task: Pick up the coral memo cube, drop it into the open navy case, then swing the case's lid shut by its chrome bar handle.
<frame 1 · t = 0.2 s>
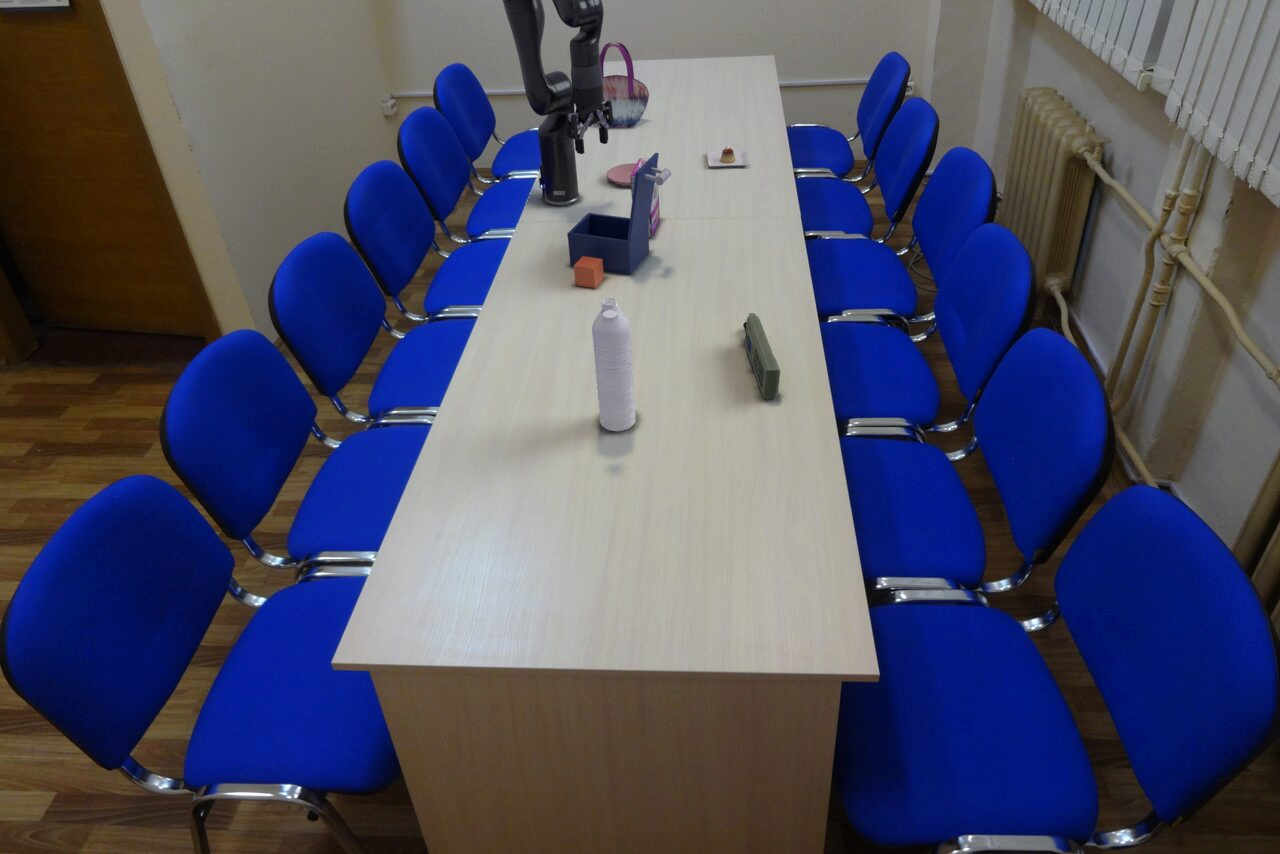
hand: (592, 148, 218), 17 cm above the table, tool pointing down, fingers open, 8 cm apart
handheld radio: (757, 363, 169), on the table
water bottle: (618, 425, 155), on the table
memo cube: (589, 281, 198), on the table
handbag: (617, 123, 284), on the table
candy bar box: (646, 229, 219), on the table
plate: (631, 179, 245), on the table
dessert: (727, 161, 253), on the table
case lid: (652, 199, 193), point 16 cm above the table, hinge at 100.0°
case: (610, 258, 206), on the table
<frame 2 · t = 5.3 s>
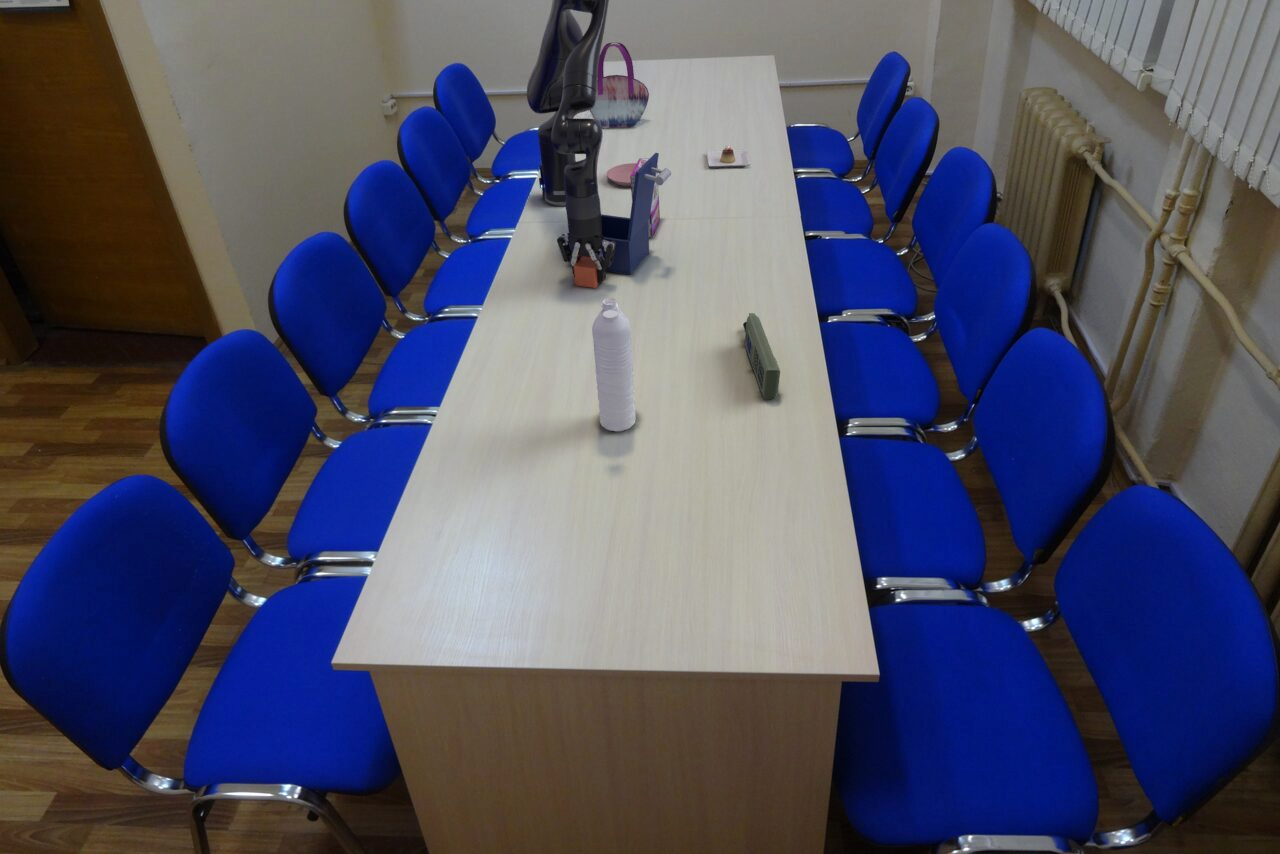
hand: (589, 280, 198), 0 cm above the table, tool pointing down, fingers closed on memo cube, 5 cm apart
memo cube: (589, 281, 198), on the table, touching gripper
everything else where it was.
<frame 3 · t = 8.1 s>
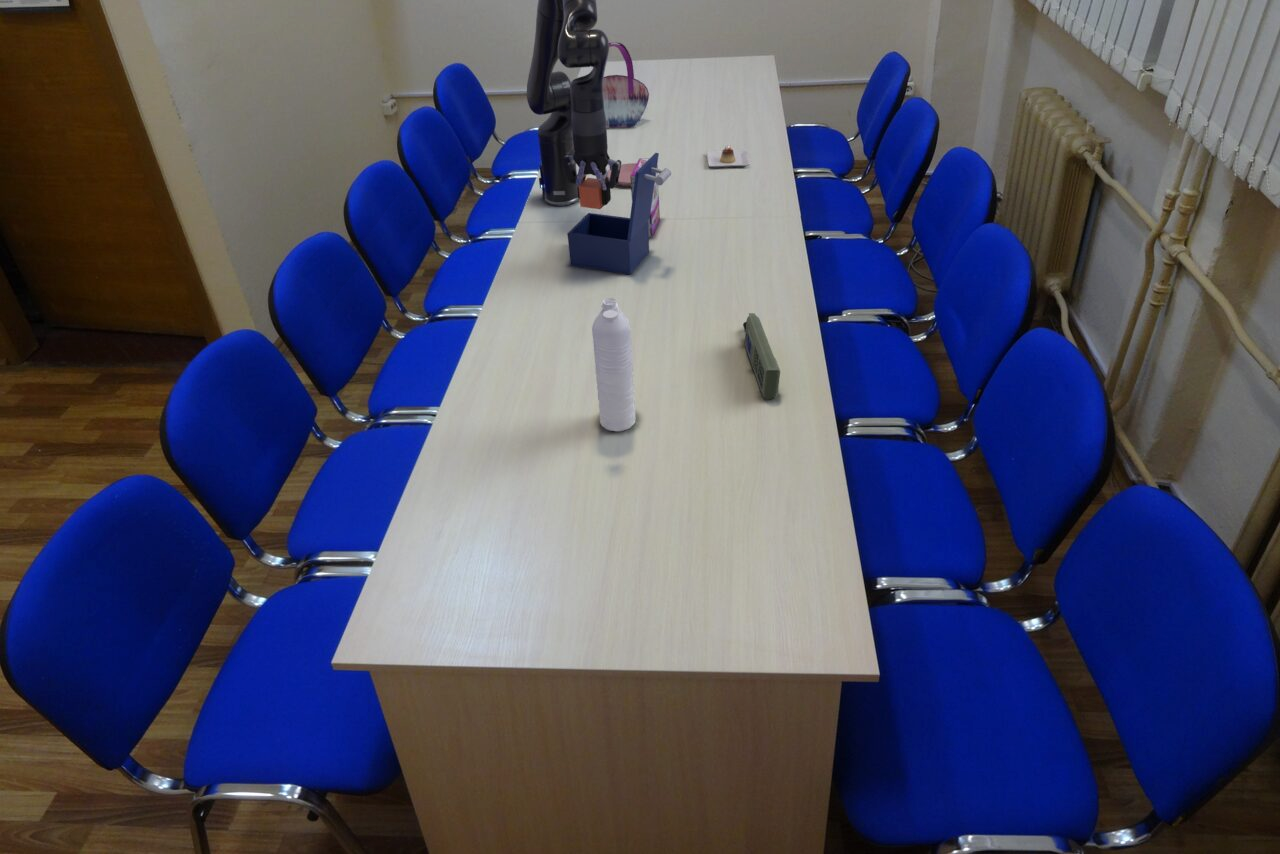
hand: (594, 202, 197), 15 cm above the table, tool pointing down, fingers closed on memo cube, 5 cm apart
memo cube: (594, 203, 197), point 15 cm above the table, touching gripper
everything else where it was.
when the fingers open (7 cm above the table, at t = 10.9 s): memo cube drops 6 cm, resting on case.
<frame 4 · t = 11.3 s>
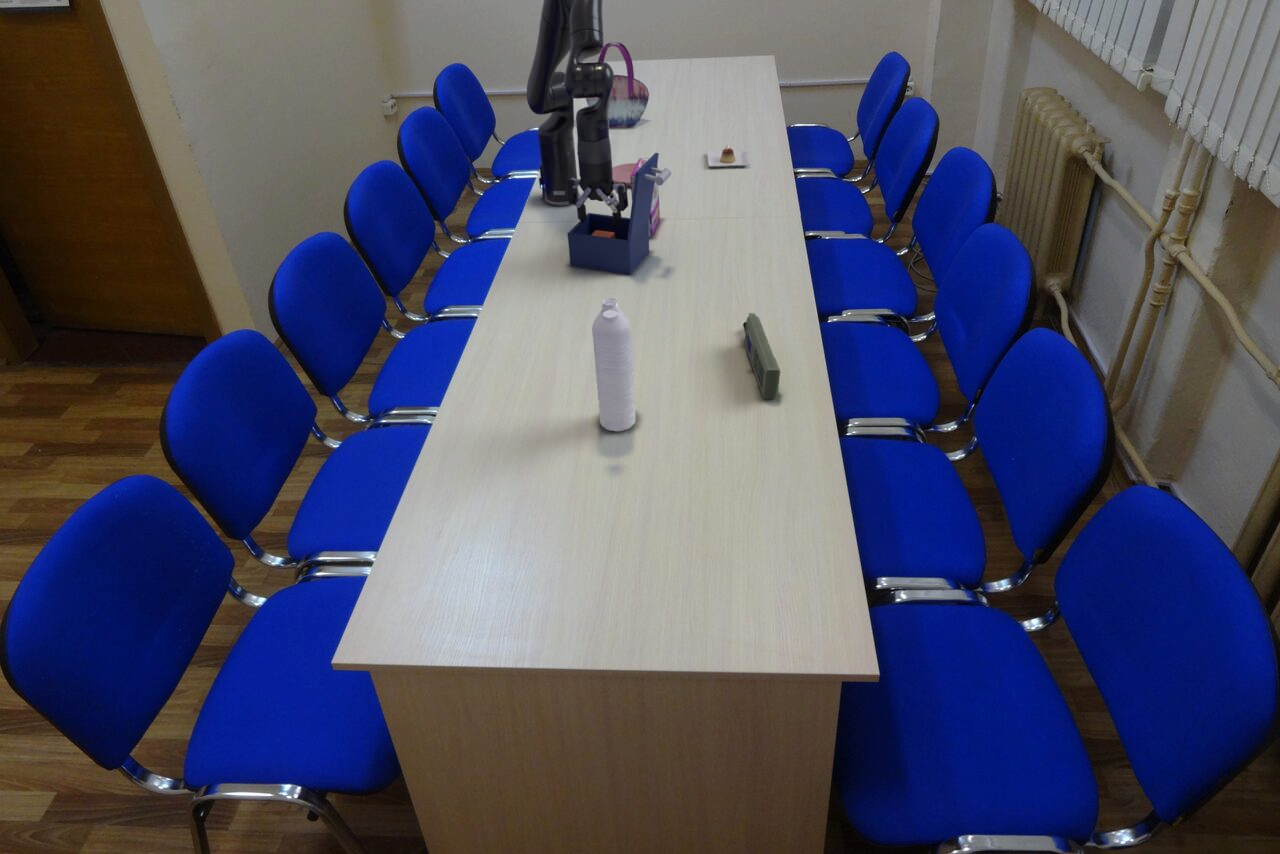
hand: (599, 223, 202), 9 cm above the table, tool pointing down, fingers open, 8 cm apart
memo cube: (602, 254, 207), point 1 cm above the table, touching case
everything else where it was.
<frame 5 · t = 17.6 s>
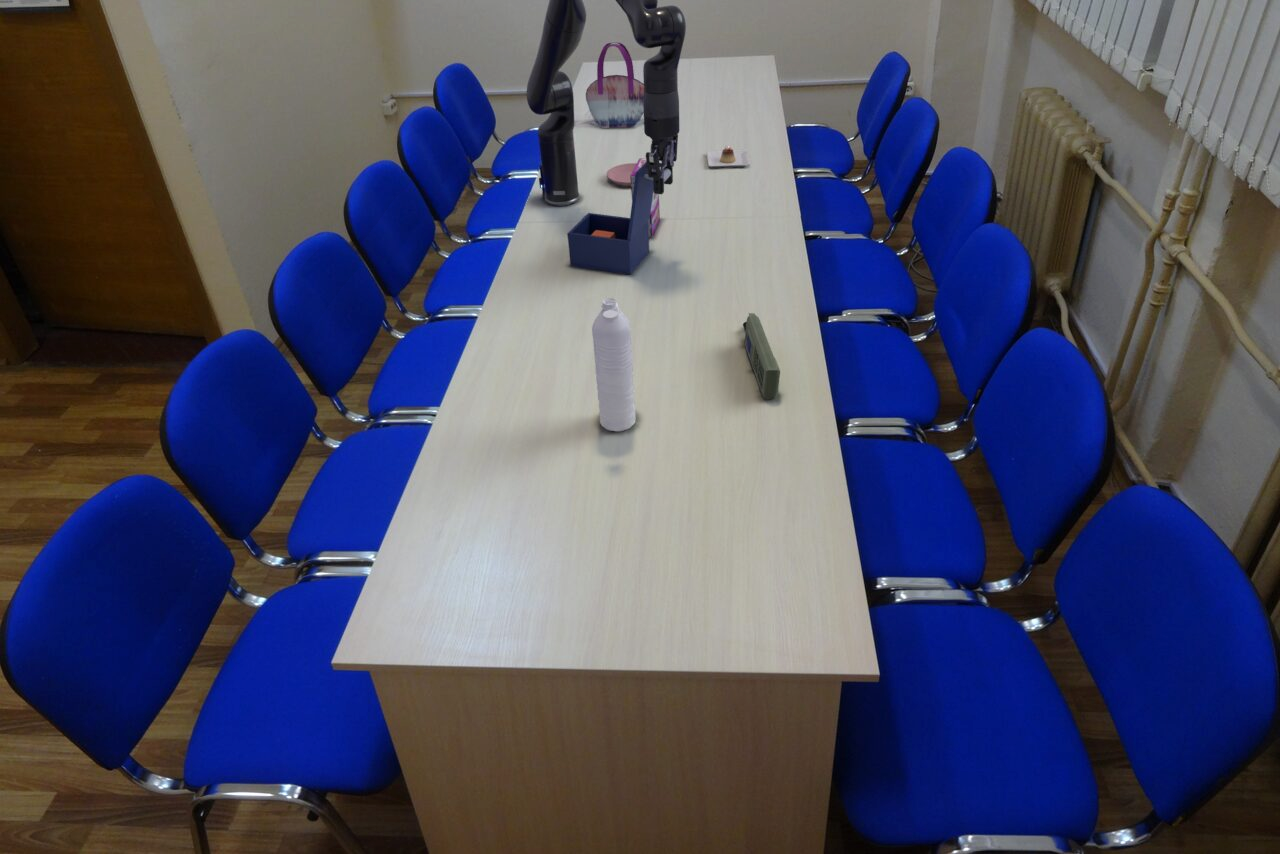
hand: (663, 188, 190), 19 cm above the table, tool pointing down, fingers closed on case lid, 5 cm apart
case lid: (652, 199, 193), point 16 cm above the table, hinge at 100.0°, touching gripper
everything else where it was.
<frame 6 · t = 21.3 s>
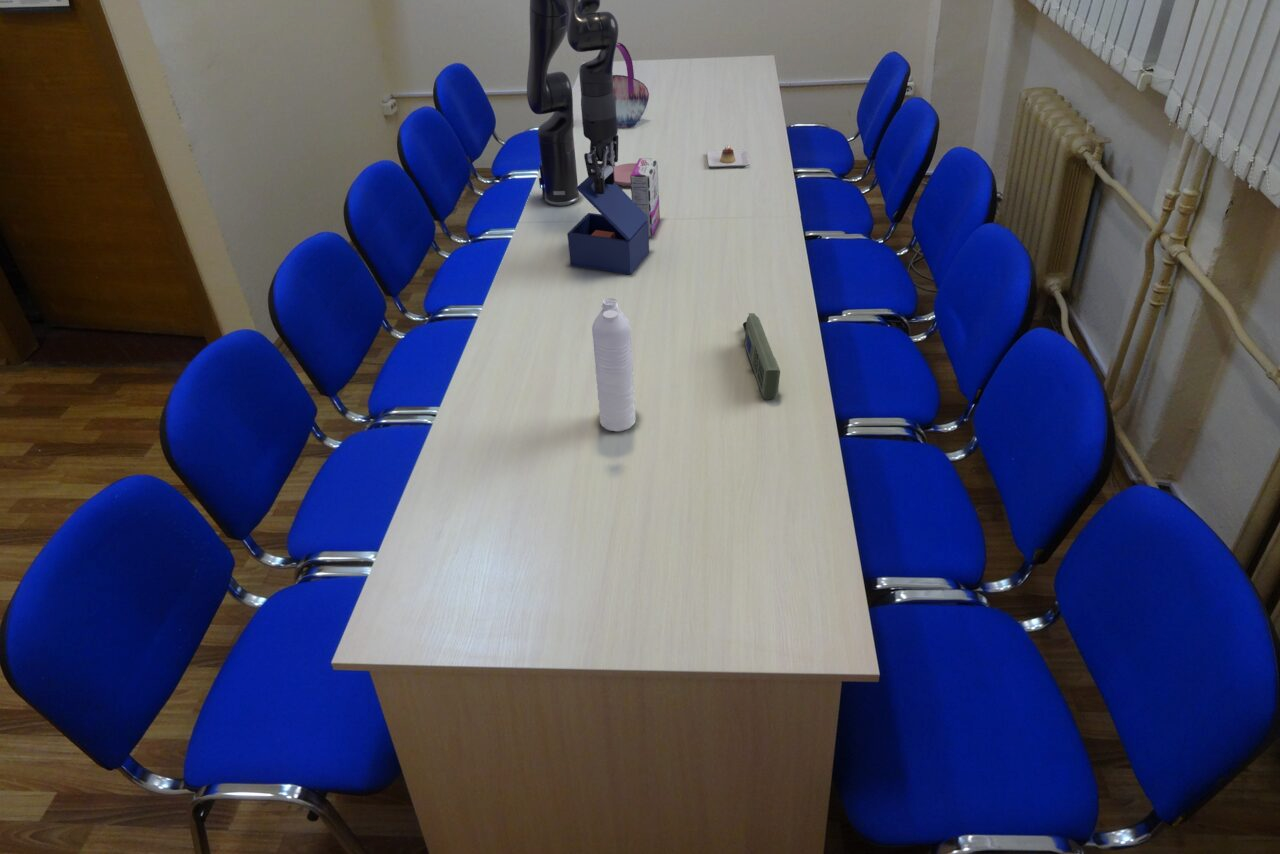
hand: (605, 188, 196), 18 cm above the table, tool pointing down, fingers closed on case lid, 5 cm apart
case lid: (619, 197, 196), point 16 cm above the table, hinge at 43.0°, touching gripper
everything else where it was.
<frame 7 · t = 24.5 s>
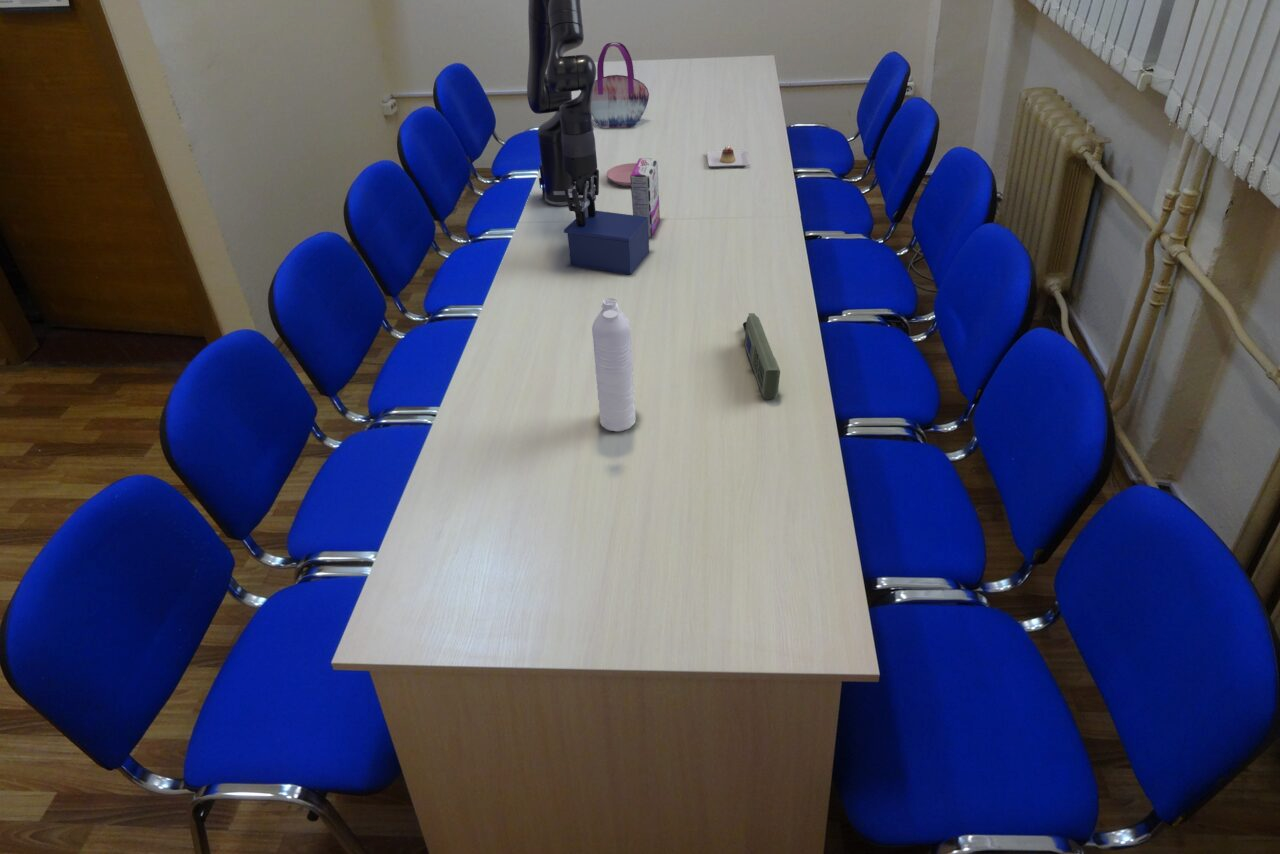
hand: (586, 220, 203), 9 cm above the table, tool pointing down, fingers closed on case lid, 5 cm apart
case lid: (605, 215, 200), point 11 cm above the table, hinge at -0.2°, touching case, gripper
everything else where it was.
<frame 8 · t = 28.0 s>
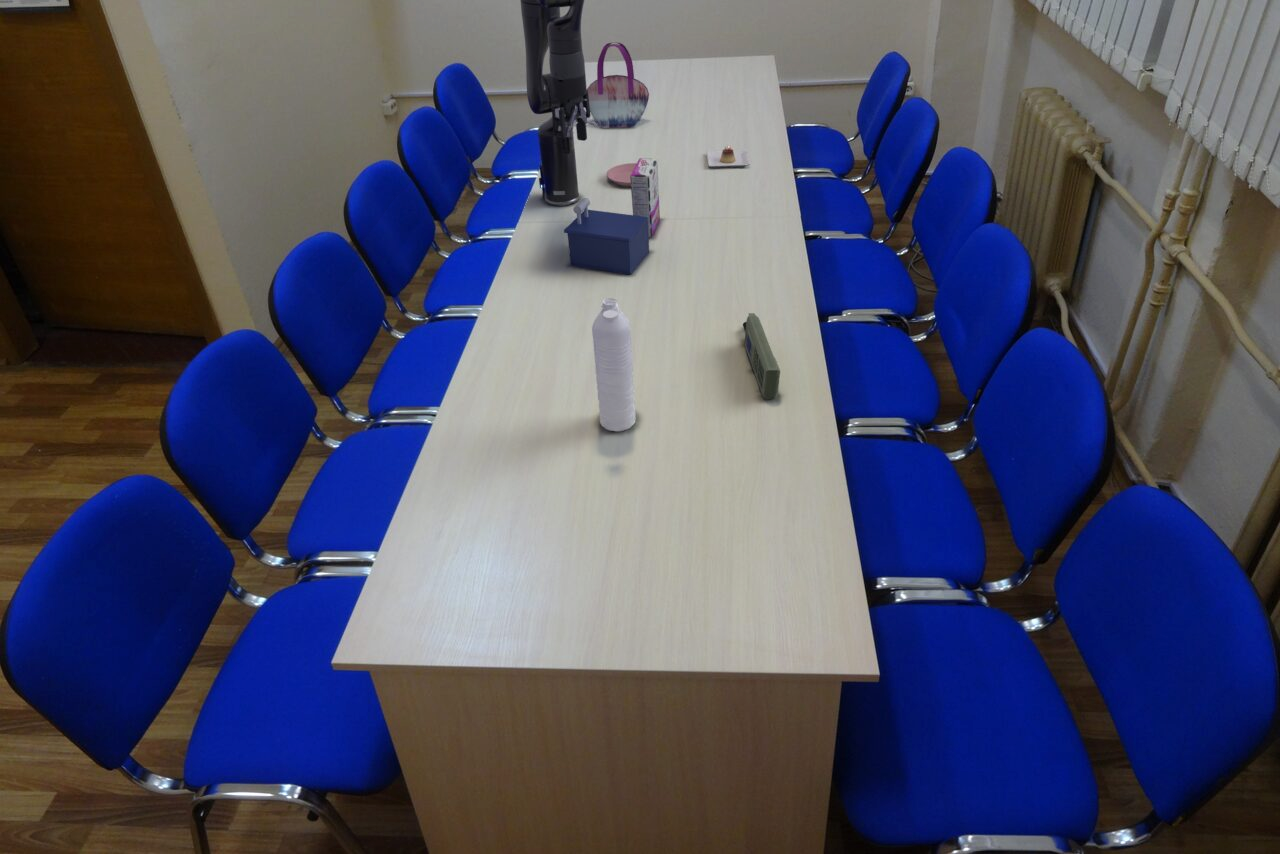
hand: (574, 146, 194), 26 cm above the table, tool pointing down, fingers open, 8 cm apart
case lid: (605, 215, 200), point 11 cm above the table, hinge at -0.2°, touching case
everything else where it was.
at the end: memo cube inside the target area in the case (2.0 cm from its centre), point 0.8 cm above the case's base; case lid at +0° (first picture: +100°) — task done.
